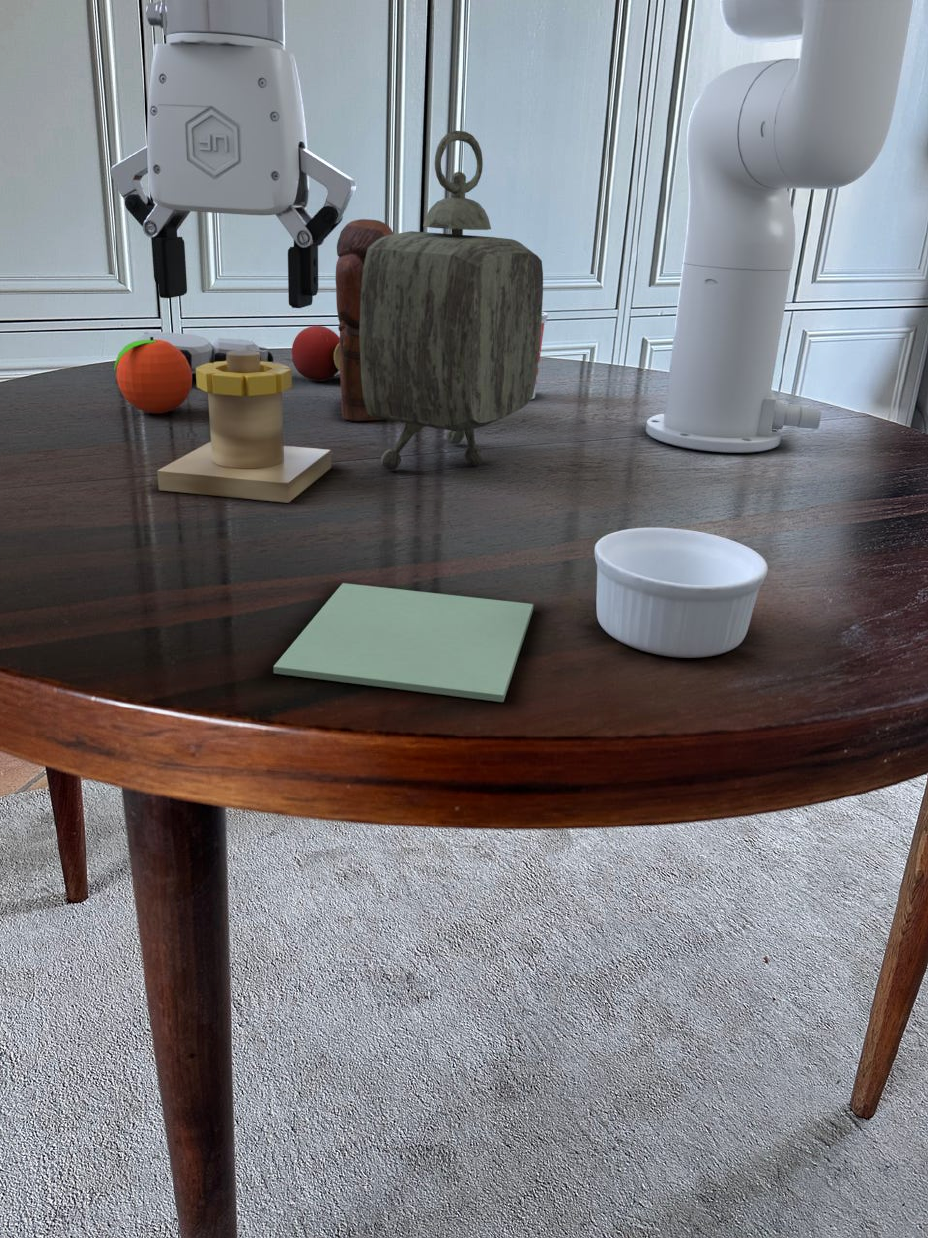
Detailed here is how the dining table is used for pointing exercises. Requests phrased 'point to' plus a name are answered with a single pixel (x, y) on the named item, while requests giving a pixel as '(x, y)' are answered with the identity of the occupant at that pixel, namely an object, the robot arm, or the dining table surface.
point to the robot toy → (206, 347)
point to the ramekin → (676, 590)
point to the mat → (412, 642)
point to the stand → (246, 449)
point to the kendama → (316, 353)
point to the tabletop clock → (449, 321)
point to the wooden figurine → (353, 309)
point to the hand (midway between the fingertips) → (236, 301)
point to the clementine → (153, 375)
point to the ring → (243, 379)
